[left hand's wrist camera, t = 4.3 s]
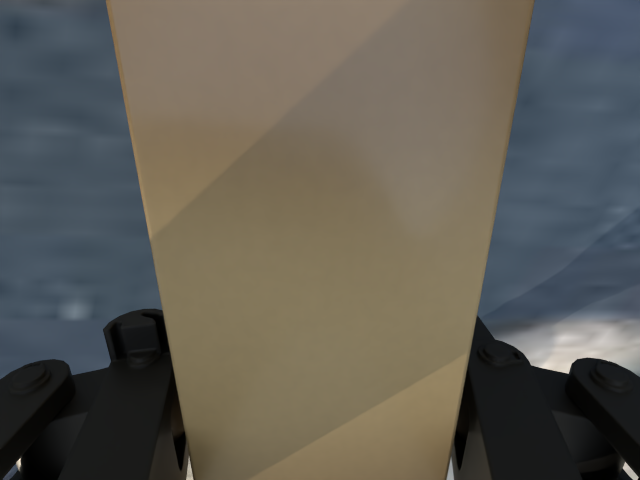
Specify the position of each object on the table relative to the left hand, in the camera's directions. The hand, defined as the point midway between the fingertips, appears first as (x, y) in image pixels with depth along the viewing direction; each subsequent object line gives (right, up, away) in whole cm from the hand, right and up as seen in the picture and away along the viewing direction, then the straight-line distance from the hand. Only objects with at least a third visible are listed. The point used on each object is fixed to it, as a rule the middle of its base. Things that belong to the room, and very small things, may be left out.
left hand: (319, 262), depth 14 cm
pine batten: (0, +6, -2) cm, 7 cm away
